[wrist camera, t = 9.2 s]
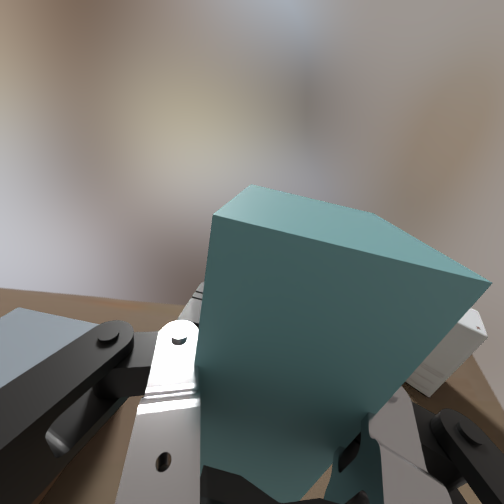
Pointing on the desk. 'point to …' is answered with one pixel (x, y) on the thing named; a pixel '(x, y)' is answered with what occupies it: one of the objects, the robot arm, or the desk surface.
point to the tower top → (33, 339)
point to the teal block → (311, 331)
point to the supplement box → (449, 353)
